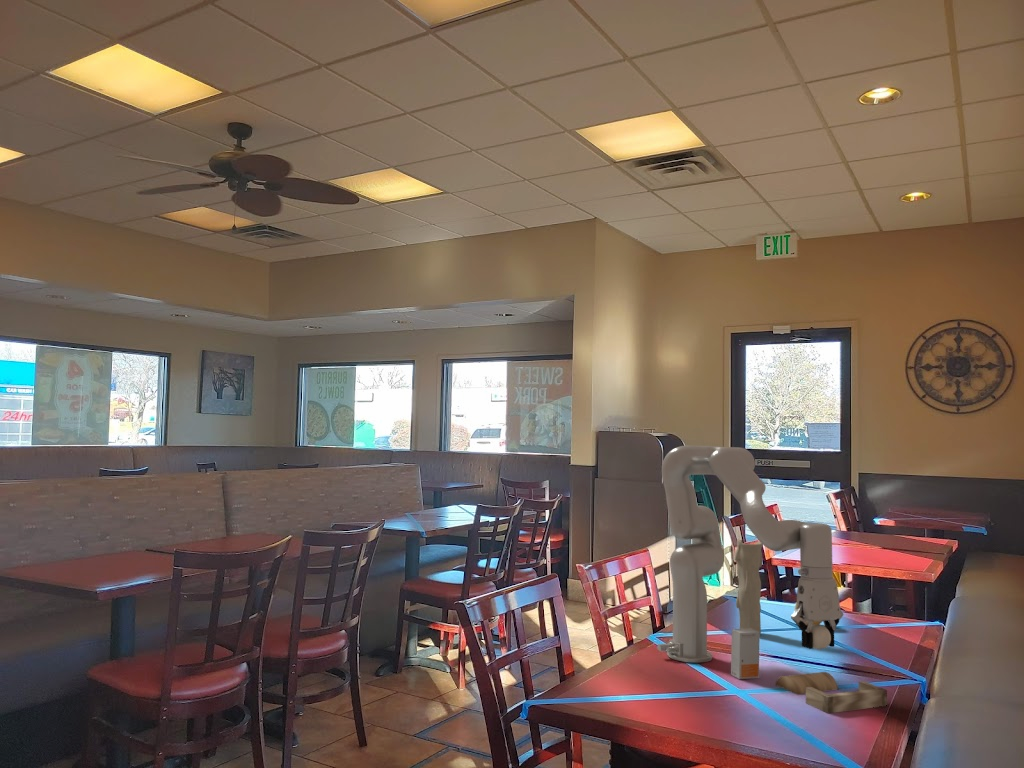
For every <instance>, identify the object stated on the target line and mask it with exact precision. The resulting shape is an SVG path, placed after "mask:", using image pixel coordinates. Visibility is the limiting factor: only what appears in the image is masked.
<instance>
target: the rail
mask: <svg viewBox="0 0 1024 768" xmlns="http://www.w3.org/2000/svg"><path fill="white" fill-rule="evenodd" d="M805 704H807V705H810V706H811V707H814V708H816V709H817V710H820V711H822V712H824V713H826V714H834V713H840V712H848V711H857V710H864V709H874V708H880V707H879V706H882V707H887V706H888V690H887V689H884V688H883V687H880V686H877V685H875V684H872V683H870V682H868V681H865V680H862V681H861V680H860V681H858V690H856V691H845V692H837V693H829V694H828V693H826V692H825V691H819V690H817V689H815V688H813V687H806V693H805ZM886 705H887V706H886ZM873 707H874V708H873Z"/></svg>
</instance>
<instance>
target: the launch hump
mask: <svg viewBox="0 0 1024 768" xmlns="http://www.w3.org/2000/svg"><path fill="white" fill-rule="evenodd" d="M775 685H776V686H777V687H779V688H782V689H784V690H786V691H788V692H791V693H793V694H795V695H801V694H802V695H803V694H806V687H813V688H815V689H817V690H819V691H822V692H826V691H827V692H828V691H829V692H830V691H838V690H839V686H838V683H837V681H836V679H835V677H834V676H832V675H831V674H830V673H829V672H825V671H821V672H811V673H802V674H800V673H799V674H792V675H783V676H779V677H778V678H777V679H776V681H775Z"/></svg>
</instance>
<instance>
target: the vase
mask: <svg viewBox="0 0 1024 768" xmlns="http://www.w3.org/2000/svg"><path fill="white" fill-rule="evenodd" d="M763 546H764V545H763V544H762V543H761V542H760V541H758V542H754V543H752V544H751V543H743V541H741V540H740V539H739V538H738V539H737V540H736V550H735V552H734V555H733V556H734V557H733V558H734V560H735V562H736V574H737V577H738V578H737V579H738V590H737V596H736V600H735V606H736V607H735V608H737V609H738V614H739V616H738V617H739V628H738V629H749V628H751V629H753V630H756V631H758V632H759V633H760V634H761V633H762V631H761V629H762V627H761V626H762V625H761V611H762V606H761V602H760V601H761V597H762V596H761V595H762V581H761V577H760V568H762V565H763V561H764V559H763V552H762V549H763V548H762V547H763Z"/></svg>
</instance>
